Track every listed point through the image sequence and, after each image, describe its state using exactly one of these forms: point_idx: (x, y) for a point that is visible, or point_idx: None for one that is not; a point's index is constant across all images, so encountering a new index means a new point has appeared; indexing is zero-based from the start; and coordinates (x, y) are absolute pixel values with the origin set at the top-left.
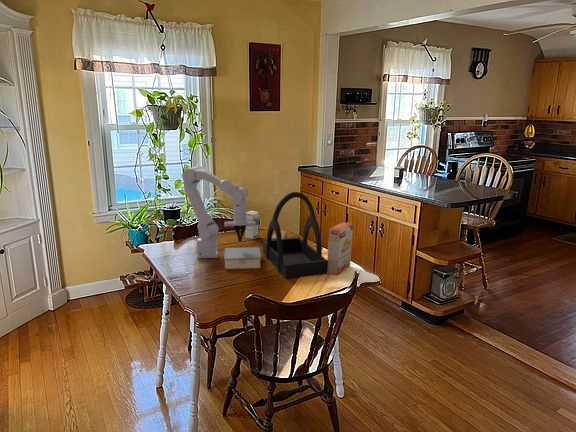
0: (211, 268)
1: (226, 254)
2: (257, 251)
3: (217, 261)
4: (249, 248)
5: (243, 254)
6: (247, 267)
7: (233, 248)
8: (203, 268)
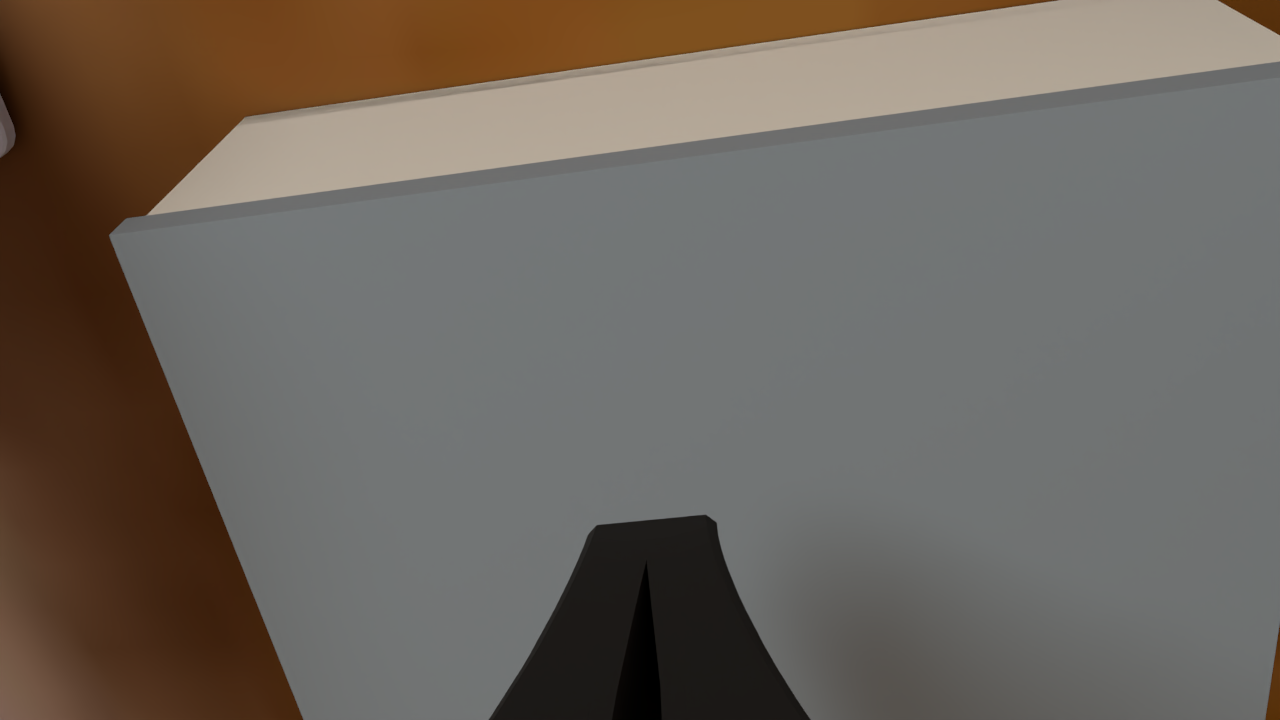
0: (169, 689)
1: (349, 702)
2: (1225, 460)
3: (133, 359)
4: (975, 213)
5: (799, 679)
6: None
7: (413, 257)
8: (21, 696)
